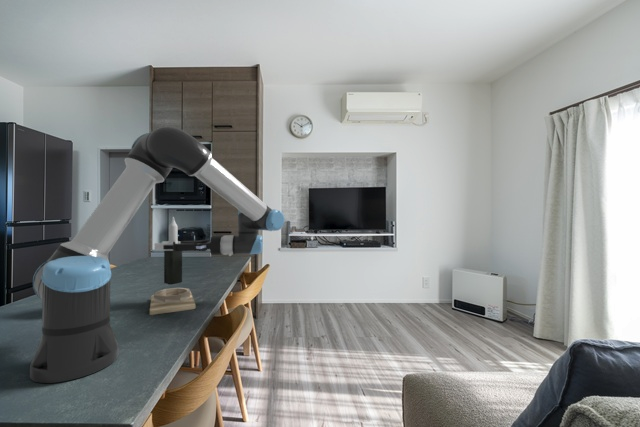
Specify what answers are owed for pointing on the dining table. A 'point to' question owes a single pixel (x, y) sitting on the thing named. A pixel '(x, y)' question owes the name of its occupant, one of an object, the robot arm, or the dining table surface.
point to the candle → (173, 258)
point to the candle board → (171, 301)
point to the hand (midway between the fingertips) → (158, 245)
